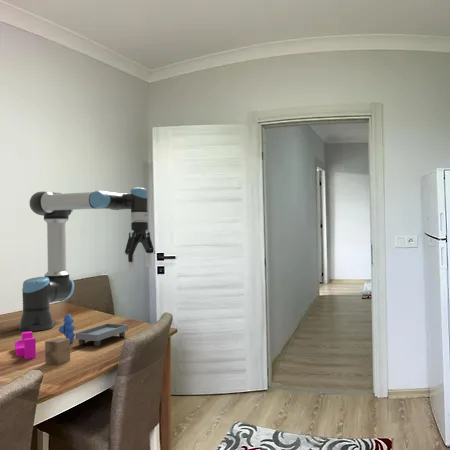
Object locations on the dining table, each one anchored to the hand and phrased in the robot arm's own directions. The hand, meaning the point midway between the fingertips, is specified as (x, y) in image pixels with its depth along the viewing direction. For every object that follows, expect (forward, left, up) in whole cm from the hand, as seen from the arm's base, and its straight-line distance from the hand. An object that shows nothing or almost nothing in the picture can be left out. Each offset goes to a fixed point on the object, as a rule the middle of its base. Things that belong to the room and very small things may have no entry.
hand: (140, 268), depth 210 cm
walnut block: (-4, -48, -30) cm, 57 cm away
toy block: (-24, -45, -31) cm, 59 cm away
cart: (-8, -17, -30) cm, 36 cm away
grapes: (-21, -24, -30) cm, 44 cm away
